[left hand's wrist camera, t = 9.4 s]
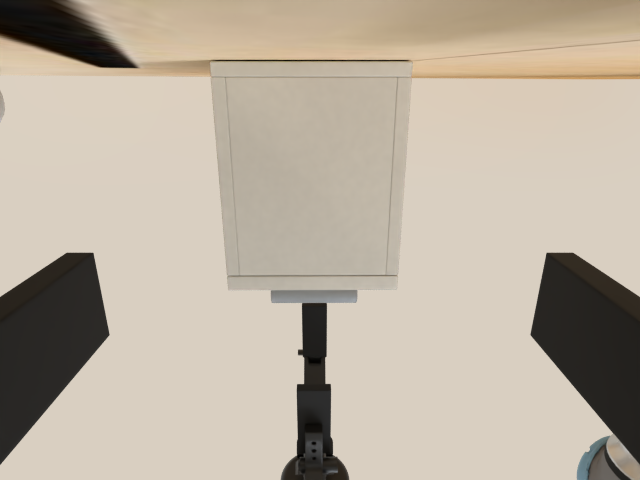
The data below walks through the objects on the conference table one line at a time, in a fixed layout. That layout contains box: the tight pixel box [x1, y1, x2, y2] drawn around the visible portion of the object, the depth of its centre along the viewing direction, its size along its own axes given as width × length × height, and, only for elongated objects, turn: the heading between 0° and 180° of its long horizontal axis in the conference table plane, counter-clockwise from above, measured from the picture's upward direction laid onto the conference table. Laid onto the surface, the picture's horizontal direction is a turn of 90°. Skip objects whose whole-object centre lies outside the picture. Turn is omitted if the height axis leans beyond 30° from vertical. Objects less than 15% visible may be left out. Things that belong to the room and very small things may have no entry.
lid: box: [227, 274, 398, 303], centre depth 33 cm, size 16×10×8 cm, turn 0°
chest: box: [210, 61, 413, 275], centre depth 29 cm, size 15×10×11 cm, turn 0°
